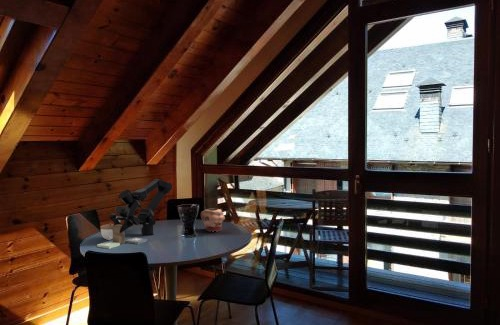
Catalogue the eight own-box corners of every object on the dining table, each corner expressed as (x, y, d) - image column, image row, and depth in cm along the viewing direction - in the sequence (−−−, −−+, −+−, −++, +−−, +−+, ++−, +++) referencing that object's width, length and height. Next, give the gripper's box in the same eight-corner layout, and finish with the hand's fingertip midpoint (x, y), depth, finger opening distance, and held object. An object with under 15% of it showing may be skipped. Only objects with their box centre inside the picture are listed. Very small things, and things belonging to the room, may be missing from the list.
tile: (135, 239, 227) (135, 237, 227) (147, 241, 223) (147, 238, 223) (125, 242, 220) (125, 240, 220) (137, 244, 216) (137, 241, 216)
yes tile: (107, 243, 217) (107, 241, 217) (119, 245, 213) (119, 242, 213) (97, 246, 211) (97, 244, 211) (109, 248, 207) (109, 246, 207)
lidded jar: (113, 241, 223) (113, 224, 223) (96, 240, 225) (96, 224, 225) (123, 237, 234) (123, 221, 233) (107, 236, 236) (106, 220, 236)
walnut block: (118, 241, 222) (117, 224, 221) (124, 242, 219) (124, 225, 219) (112, 243, 218) (112, 225, 218) (119, 244, 216) (119, 226, 216)
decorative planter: (193, 230, 251) (193, 208, 250) (206, 227, 261) (205, 206, 261) (218, 234, 240) (218, 211, 239) (230, 230, 250) (230, 208, 250)
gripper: (111, 199, 226) (96, 222, 216) (135, 201, 217) (121, 224, 208) (121, 211, 233) (107, 233, 223) (145, 213, 225) (132, 236, 215)
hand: (116, 231), depth 217 cm, fingers closed on walnut block, 5 cm apart
